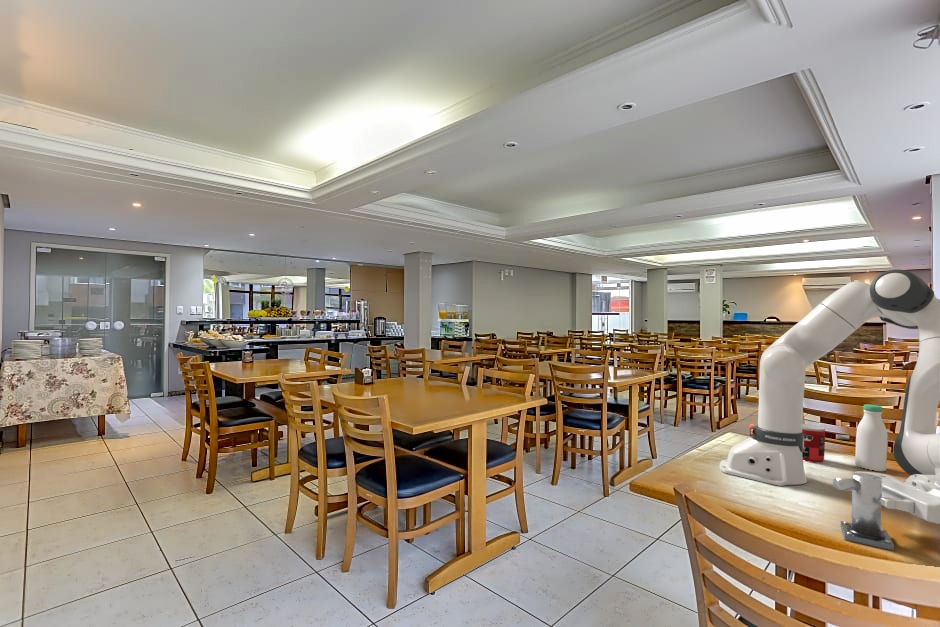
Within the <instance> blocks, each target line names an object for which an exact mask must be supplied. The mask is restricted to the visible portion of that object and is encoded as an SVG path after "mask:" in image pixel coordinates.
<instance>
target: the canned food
mask: <svg viewBox="0 0 940 627" xmlns="http://www.w3.org/2000/svg"><path fill="white" fill-rule="evenodd" d="M802 431H803V433H804V449H803V451H802V457H803V460H805V461H804V462H808V461H809V462H810V463H816V462H820V463H823V462H824V461H825V449H826V448H825V447H826V428H825V427H823V426H821V425H816V424H809V423H802ZM809 462H808V463H809Z"/></svg>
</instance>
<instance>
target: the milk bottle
mask: <svg viewBox="0 0 940 627" xmlns="http://www.w3.org/2000/svg"><path fill="white" fill-rule="evenodd" d="M882 414H883V406H880V405H877V404H866V403H865V404H863V416H862V418H861V420H860V421H859V423H858V425H857V427H856V435H855V436H856V437H855V454H854V455H855V460H854V464H855V466H856V467H858V468H860V467H862V468H861V469H863V468H865V469H864V470H867V469H869V470H868V471H872V470H874V471H873V472H885V471H886V470H887V467H888V443H889V442H888V437H889V436H888V430H887V428H886V425H885V423H884V421H883V419H882Z"/></svg>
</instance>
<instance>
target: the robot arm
mask: <svg viewBox="0 0 940 627" xmlns="http://www.w3.org/2000/svg"><path fill="white" fill-rule="evenodd" d="M873 318H879V319H880V320H881V321H882V322H885V323H888V324H891V325H894V326H897V327H900V328H903V329H909V330H918V335H919V337H918V338H919V339H918V341H919V342H918V344H919V349H918V356H917V359H916V360H917V361H916V363H915V366H914V369H913V371H912V372H911V374H910V375H909V378H908V379H907V380H908V381H907V384H906V389H905V395H904V400H903V401H904V402H903V409H902V413H901V414H902V415H901V420H900V421H901V422H900V428H899V431H898V435H897V437H896V438H895V441H894V442H893V447H892V452H893V453H892V454H893V457H894V459H895V462H896V463H897V464H898V466H899V467H900V468H901V469H902V470H903V471H904V472H905V473H907V475H909V476H908V477H907V478H906V479H905V480H902V479H900V478H897V477H895V476H892V475H890V474H886V473H881V472H874V471H872V472H870V471H859V470H858V471H855V472H853V473H856V472H859V473H867V474H872V475H876V476H878V477H880V478H882V498H881V505H882V507H884V508H886V509H887V510H889V509H890V510H899V511H903V512H905V513H906V512H907V513H909V514H911V515H912V516H915V517H917V518H919V519H922V520H924V521H926V522H928V523H932V524H937V525H940V433H935V429H936V428H935V427H936V419H937V414H938V413H937V412H938V406H939V403H940V298H937V297H936V295H935V291H934V290H933V289H932V288H931V287H930V286H929V285H928V284H927V283H926V282H925V280H923V279H922V278H921V277H920V276H918V275H917V274H915V273H914V272H911V271H909V270H905V269H900V268H899V269H896V268H895V269H890V270H886V271H884V272H882V273H880V274H878V275H877V276H876V277H875V278H874V279H873V280H872V282H871V283H870V284H869V283H867V282H863V281H851V282H848V283H846V284H845V285H843V286H842V287H840V288H838V289H836V290H835V291H834V292H832V293H831V294H830V295H829V296H827V297H825V298H824V299H823V300H822V301H821V302H820V303H818V305H817V306H815V307H814V308H813V309H812V310H811V311H809V313H807V314H806V315H805V316H804V317H803V318H802V319H800V320H799V321H798V322H797V323H796V324H794V325H793V326H791V328H790V329H788V330H787V331H786V332H785V333H784V334H783V335H781V336H780V337H778V339H776V340H775V341H774V342H772V344H770V346H768V347H767V348H766V349H764V351H763V352H762V354H761V356H760V359H759V360H760V361H759V377H758V378H759V380H758V381H759V384H758V386H759V387H758V408H757V409H758V412H757V415H758V416H757V424H756V425H755V424H754V423H752V424H749V426H748V430H749V437H748V438H745V439H744V440H742V441H739V442H738V443H736V444H734V445H732V447H731V448H730V450H729V452H728V454H727V455H728V456H727V458H725V459H722V460H721V461H720V462H719V470H720V471H721V472H722V473H725V474H727V475H732V476H736V477H741V478H745V479H749V480H754V481H757V482H758V481H759V482H761V483H766V484H770V485H774V486H780V487H782V486H783V487H784V486H788V485H795V486H796V485H803V484H806V483H808V478H807V476H806V471H805V466H804V461H803V457H802V451H803V449H804V433H803V431H802V424H803V411H804V397H805V384H806V372H807V371H806V369H807V368H809V367H810V366H811V365H812V364H814V363H815V362H817V361H818V360H819V359H821V358H822V357H823V356H825V355H826V354H828V353H829V352H831V351H832V350H834V349H835V348H836V347H837V346H838V345H840V344H841V343H842V342H843V341H845V340H846V339H847V338H848V337H849V336H851V335H852V334H853V333H854V332H856V330H858V329H859V328H860V327H862V325H864V324H865V323H866V322H867V321H869V320H872V319H873ZM850 491H851V492H852V490H850Z"/></svg>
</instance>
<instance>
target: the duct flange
mask: <svg viewBox="0 0 940 627" xmlns="http://www.w3.org/2000/svg"><path fill="white" fill-rule="evenodd" d="M851 525H852V522H848V521H846V520H845V521H842V520H840V528H841V533H842V535H843V538H844V540H845V541H848V542H852V543H856V544H861V545H865V546H870V547H875V548H879V549H883V550H887V549H888V551H892V550H893V551H895V550H894V549H895V545H894V543H893V540H892V538H891V536H890V534H889V533H888V531H887V530H886V529H884V528H881V536H879V537H873V536H867V535H863V534H860V533H857V532H855V531H854V530H852V528H851Z"/></svg>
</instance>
